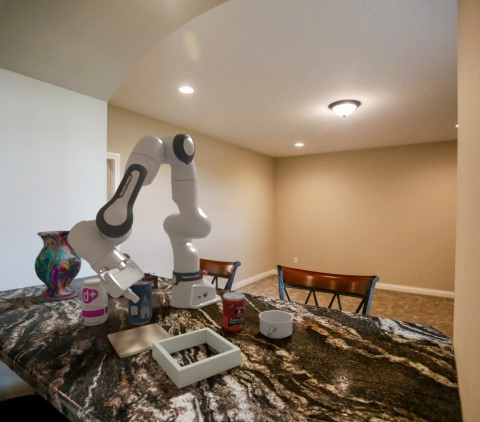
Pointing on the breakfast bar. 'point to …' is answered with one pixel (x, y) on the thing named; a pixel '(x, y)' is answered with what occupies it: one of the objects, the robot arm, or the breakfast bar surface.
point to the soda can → (141, 303)
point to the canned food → (233, 311)
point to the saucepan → (276, 323)
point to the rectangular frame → (201, 368)
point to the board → (137, 339)
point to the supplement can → (93, 302)
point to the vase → (57, 266)
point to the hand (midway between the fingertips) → (142, 296)
